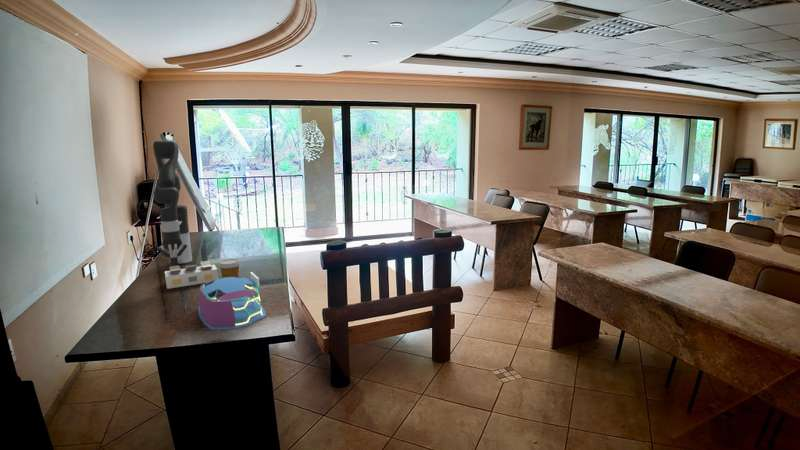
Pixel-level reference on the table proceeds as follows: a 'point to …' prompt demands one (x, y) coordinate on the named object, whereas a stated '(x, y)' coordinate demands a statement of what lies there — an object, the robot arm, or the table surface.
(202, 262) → the rocker
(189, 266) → the block
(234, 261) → the disposable coffee cup
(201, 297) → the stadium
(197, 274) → the console
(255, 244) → the table surface
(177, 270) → the rocker
